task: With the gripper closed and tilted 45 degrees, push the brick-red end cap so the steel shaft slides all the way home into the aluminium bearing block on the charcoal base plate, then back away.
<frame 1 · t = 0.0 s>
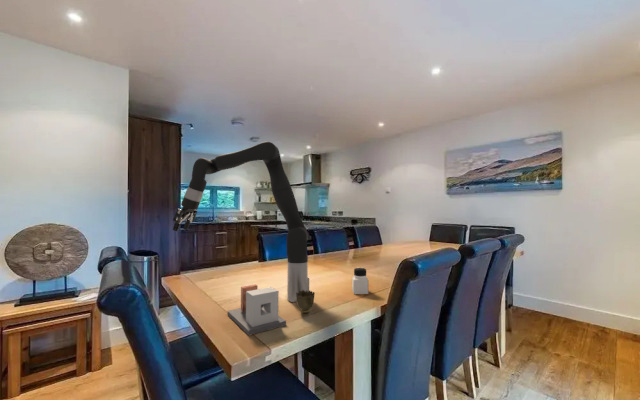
hand: (180, 229, 133), 31 cm above the table, tool tilted 20°, fingers open, 8 cm apart
cup: (305, 313, 111), on the table
shaft: (253, 300, 106), point 6 cm above the table, slide at 8.0 cm
bearing block: (255, 319, 104), on the table
medicine bottle: (360, 292, 139), on the table
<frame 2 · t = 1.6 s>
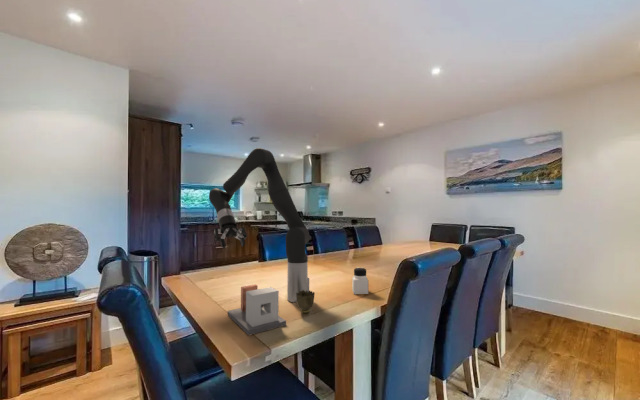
hand: (234, 246, 125), 25 cm above the table, tool tilted 45°, fingers open, 8 cm apart
nothing on the table moved.
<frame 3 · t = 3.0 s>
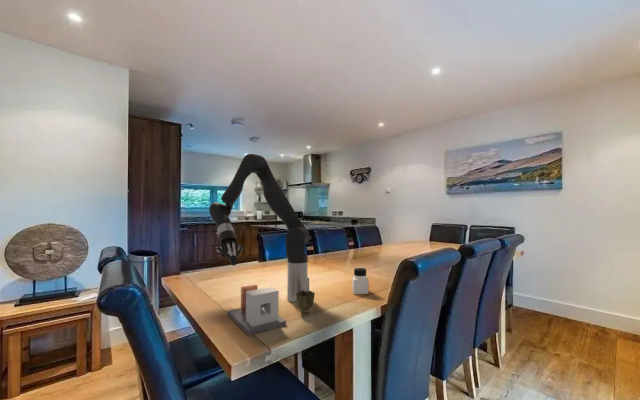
hand: (234, 264, 124), 17 cm above the table, tool tilted 45°, fingers closed
nothing on the table moved.
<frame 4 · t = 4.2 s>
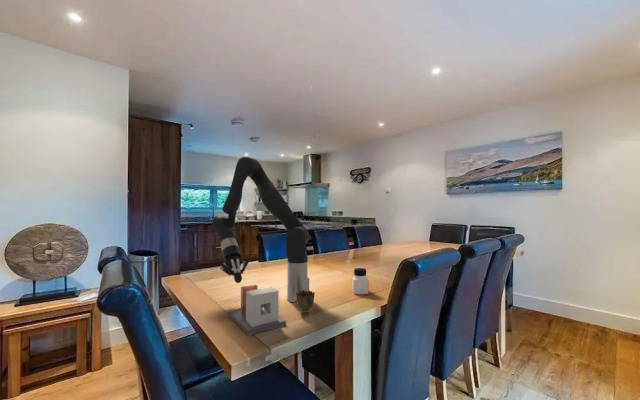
hand: (239, 281, 119), 10 cm above the table, tool tilted 45°, fingers closed
nothing on the table moved.
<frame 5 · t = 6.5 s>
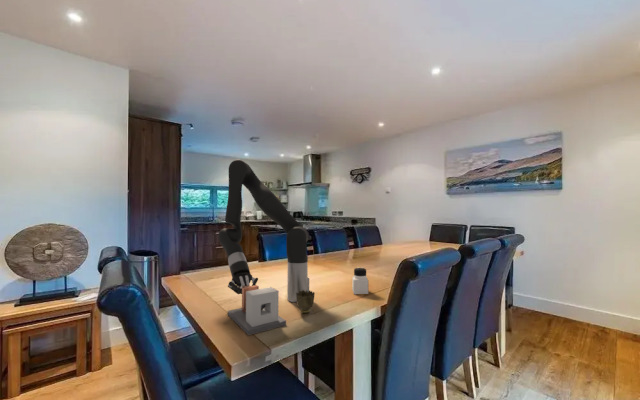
hand: (248, 301, 110), 5 cm above the table, tool tilted 45°, fingers closed
shaft: (255, 301, 105), point 6 cm above the table, slide at 6.9 cm, touching gripper
everything else where it was.
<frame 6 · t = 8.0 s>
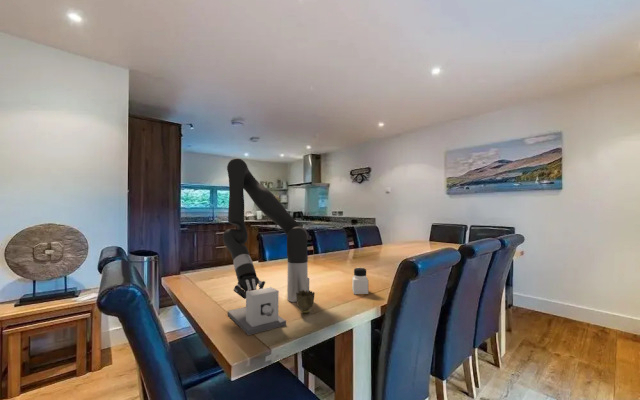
hand: (255, 306, 104), 5 cm above the table, tool tilted 45°, fingers closed
shaft: (262, 306, 99), point 6 cm above the table, slide at -0.1 cm, touching gripper
everything else where it was.
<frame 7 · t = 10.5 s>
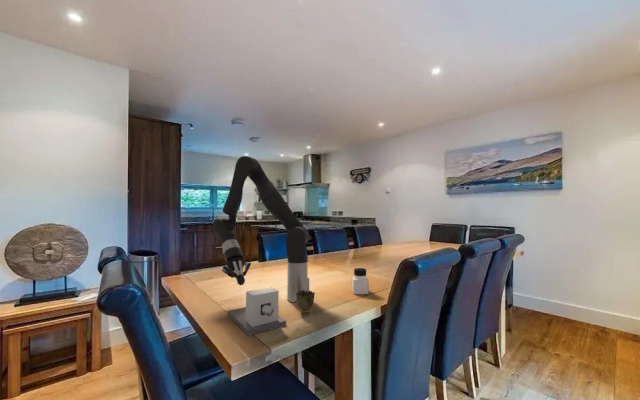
hand: (242, 284, 117), 10 cm above the table, tool tilted 45°, fingers closed
shaft: (262, 306, 99), point 7 cm above the table, slide at 0.0 cm
everything else where it was.
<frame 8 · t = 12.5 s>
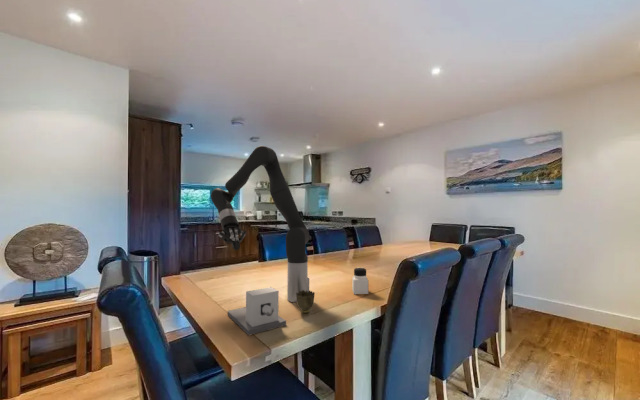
hand: (237, 249, 122), 24 cm above the table, tool tilted 45°, fingers closed
nothing on the table moved.
at the end: shaft slide at 0.0 cm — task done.
